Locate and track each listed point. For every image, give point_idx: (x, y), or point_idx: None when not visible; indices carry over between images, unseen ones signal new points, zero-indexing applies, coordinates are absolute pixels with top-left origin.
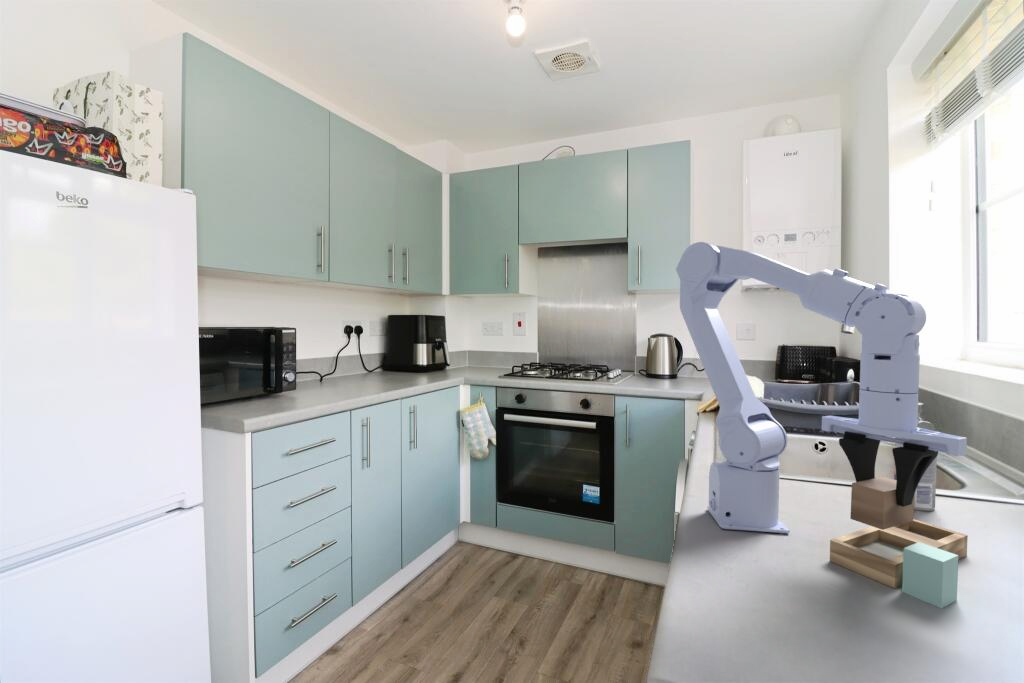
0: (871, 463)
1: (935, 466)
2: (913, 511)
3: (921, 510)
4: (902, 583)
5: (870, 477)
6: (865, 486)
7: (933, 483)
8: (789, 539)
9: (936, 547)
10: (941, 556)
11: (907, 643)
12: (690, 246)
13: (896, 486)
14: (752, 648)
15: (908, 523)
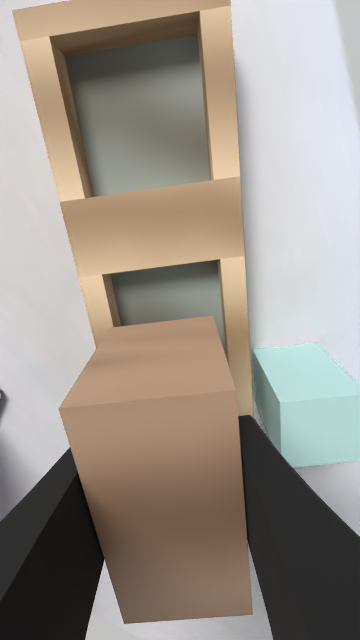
0: (40, 605)
1: None
2: (215, 327)
3: None
4: (259, 411)
5: (84, 516)
6: (176, 617)
7: None
8: (26, 408)
9: (242, 242)
10: (348, 437)
11: None
12: None
13: (255, 569)
14: (254, 633)
15: (56, 50)
